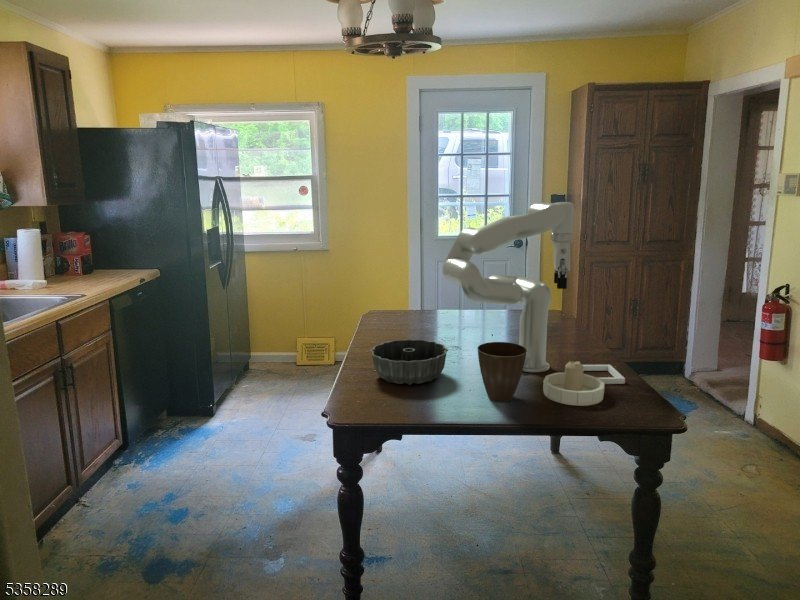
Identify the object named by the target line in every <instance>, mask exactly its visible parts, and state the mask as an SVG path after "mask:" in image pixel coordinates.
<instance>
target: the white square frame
mask: <svg viewBox="0 0 800 600" xmlns="http://www.w3.org/2000/svg"><path fill="white" fill-rule="evenodd" d="M582 365H583V367H584V370H583V372H587V371H588V372H590V371H591V372H592V371H593V372H594V371H595V372H596V371H597V372H598V371H599V372H600V371H601V372H602V371H603V372H605V371H607V372H608V373H610V375H611V376H612V377H611V376H610V377H609V376H608V377H606V376H605V377H598V378H599V379H600V380H601V381H602V382H604V383H605V385H614V384H615V385H617V384H619V385H623V384H624V385H626V384H625V383H626V378H625V377H624V376H623V375H622V374H621V373H620V372H619V371H618V370H617V369H616V368H614V366H612V365H611V364H582Z"/></svg>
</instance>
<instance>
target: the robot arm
mask: <svg viewBox="0 0 800 600" xmlns="http://www.w3.org/2000/svg"><path fill="white" fill-rule="evenodd" d="M574 215H575V205H574V203H573V202H570V201H559V202H558V201H557V202H535V203H532V205H530V207H528V210H527V214H521V215H519V214H518V215H509V216H505V217H501V218H499V219H497V220H495V221H493V222H490V223H488V224H486V225H484V226H481V227H479V228H476V227H475V228H474V227H466V228H464V229H462V230H461V231H460V232H459V234H458V235H457V236H456V237H455V240H454V242H453V244H452V246H451V247H450V249H449V252H448V254H447V256H446V258H445V260H444V262H443V266H442V273H443V276H444V277H445V279H447V281H449V282H451V283H454V284H456V285H458V286H459V287H460V288H461V290H462V292H463V294H464V295H465V297H466V298H467V299H468V300H470V301H471V302H474V303H484V304H492V305H493V304H494V305H503V306H511V305H514V304H517V303H518V304H521V305H523V308H522V310H521V313H520V316H519V330H518V331H519V332H518V334H519V335H518V337H519V338H518V345H521V346H523V347H525V348H526V349H527V353H526V358H525V363H524V367H523V371H522V372H524V373H525V372H526V373H543V372H546V371H548V370H550V366H551V365H550V364H549V363H548V362H547V361H546V358H547V356H546V355H547V337H548V332H547V331H548V317H549V315H548V314H549V309H550V305H551V301H552V300H551V299H552V291H551V289H550V287H549V286H548V285H547V284H545V283H544V282H542V281H539V280H536V279H534V278H532V279H531V278H529V277H525V276H518V275H506V274H492V275H490V276H489V277H483V276H482V274H481V272H480V270H479V267H478V266H477V264H475V263H473V262H472V261H471V259H472V257H473V255H477V256H478V255H484V254H488V253H490V252H491V251H494V250H497V249H498V248H500V247H503V246H505V245H507V244H510V243H512V242H514V241H517V240H522V239H526V238H530V237H533V236H537V235H540V234H543V233H546V232H548V231H550V243H552V244H553V269H554V273H553V283H554V284H556V288H557V289H558V290H566V289H567V288H568V287H567V285H568V283H567V282H568V278H567V277H568V275H567V272H570V271H571V244H572V243H573V242H574V218H575V216H574Z"/></svg>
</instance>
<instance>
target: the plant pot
mask: <svg viewBox="0 0 800 600" xmlns="http://www.w3.org/2000/svg"><path fill="white" fill-rule="evenodd" d="M526 353H527V349H526V348H525V347H523V346H521V345H519V343H518V344H517V343H513V342H509V341H491V342H484V343H481V344H479V345H478V346H477V356H478V363H479V369H480V374H481V378H482V379H481V380H482V382H483V385H484V390H485V391H486V392H485V393H486V395H487V398H488V399H489V400H491V401H493V402H498V403H506V402H509V401H511V400H512V399H513V398H514V395H515V393H516V391H517V389H518V385H519V383H520V381H521V377H522V374H523V372H524V371H523V367H524V363H525V358H526Z"/></svg>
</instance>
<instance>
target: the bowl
mask: <svg viewBox="0 0 800 600" xmlns="http://www.w3.org/2000/svg"><path fill="white" fill-rule="evenodd" d="M599 378H600V377H596V376H593V375H589V374H586V373H583V387H582V391H573V390H565V389H564V382H565V371H564V372H554V373H551V374H548V375H545V377H544V379H543V381H542V383H543V384H542V385H543V386H542V392H543V395H544V396H545V398H547V399H549V400H551V401H552V402H555V403H559V404H563V405H566V406H567V405H568V406H577V407H579V406H580V407H586V406H594V405H597V404H601V402H602V401H603V400H604V395H605V385H606V384H605V383H604V382H602V381H601V380H600V379H599Z"/></svg>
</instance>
